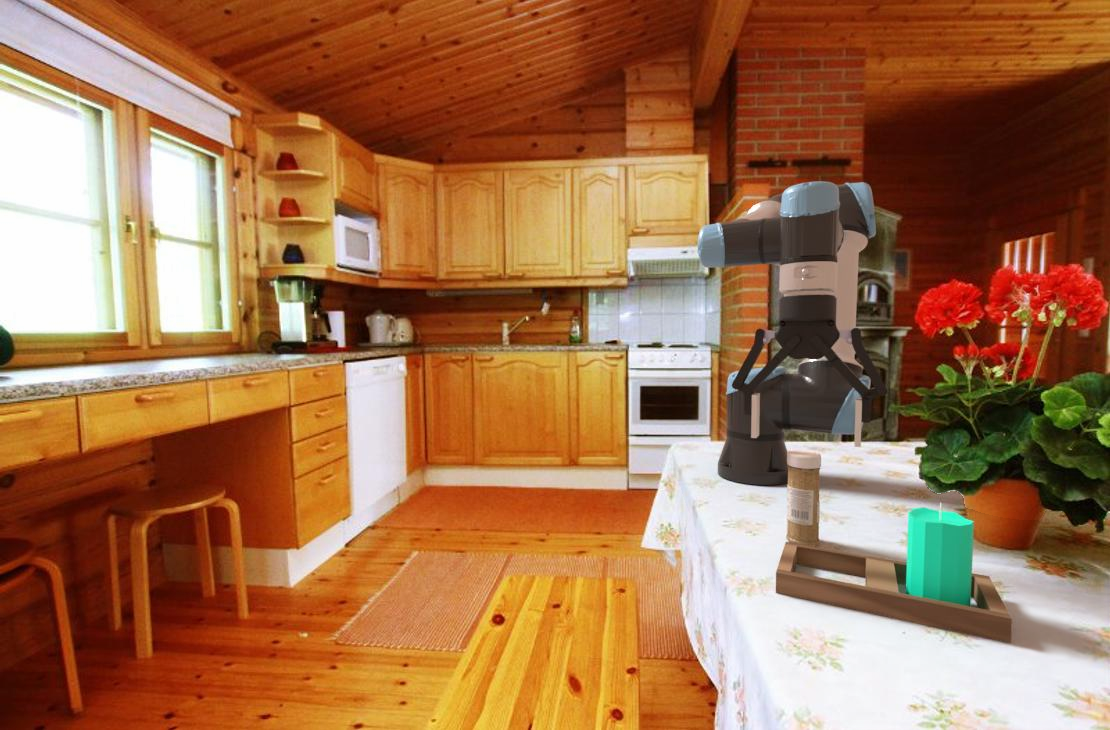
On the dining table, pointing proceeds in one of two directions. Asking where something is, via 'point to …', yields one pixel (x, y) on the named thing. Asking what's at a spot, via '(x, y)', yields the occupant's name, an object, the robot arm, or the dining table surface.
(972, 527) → the candle
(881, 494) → the dining table surface
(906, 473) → the dining table surface
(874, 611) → the walnut rail
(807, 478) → the sprinkles bottle
